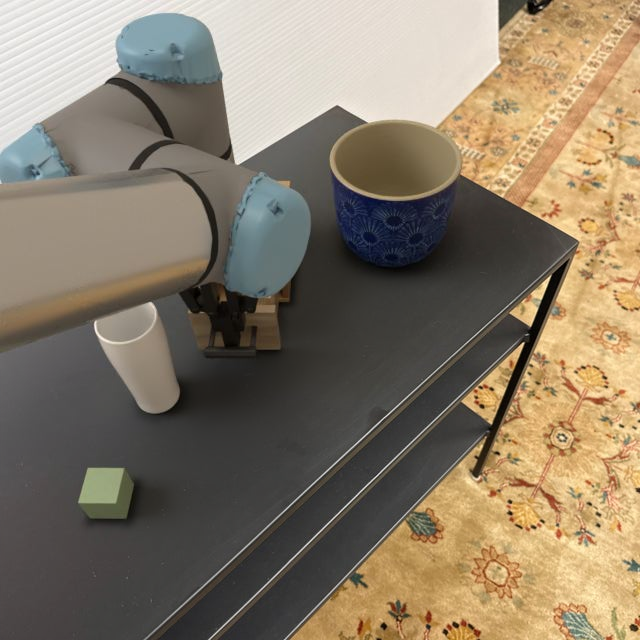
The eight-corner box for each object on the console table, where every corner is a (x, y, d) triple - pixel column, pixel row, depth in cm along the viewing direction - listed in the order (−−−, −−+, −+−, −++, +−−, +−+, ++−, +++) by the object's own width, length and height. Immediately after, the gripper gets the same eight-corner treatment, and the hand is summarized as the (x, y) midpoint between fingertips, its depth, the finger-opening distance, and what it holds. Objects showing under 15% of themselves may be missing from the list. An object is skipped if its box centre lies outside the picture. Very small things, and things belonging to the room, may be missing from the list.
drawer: (278, 379, 79) (272, 342, 73) (193, 379, 79) (181, 343, 74) (286, 272, 90) (282, 233, 85) (212, 273, 91) (203, 234, 85)
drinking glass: (133, 377, 81) (96, 298, 69) (187, 371, 81) (159, 291, 70) (129, 424, 77) (89, 348, 65) (186, 417, 77) (156, 340, 65)
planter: (349, 296, 88) (349, 210, 76) (320, 216, 99) (315, 130, 87) (466, 272, 90) (483, 185, 78) (426, 196, 101) (435, 109, 89)
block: (89, 518, 69) (77, 503, 66) (99, 483, 72) (87, 467, 69) (126, 519, 69) (116, 503, 66) (134, 484, 72) (124, 467, 69)
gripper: (271, 165, 62) (288, 320, 81) (138, 166, 63) (185, 321, 81) (264, 216, 58) (285, 369, 76) (121, 217, 58) (175, 369, 76)
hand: (233, 344), depth 78 cm, fingers closed
